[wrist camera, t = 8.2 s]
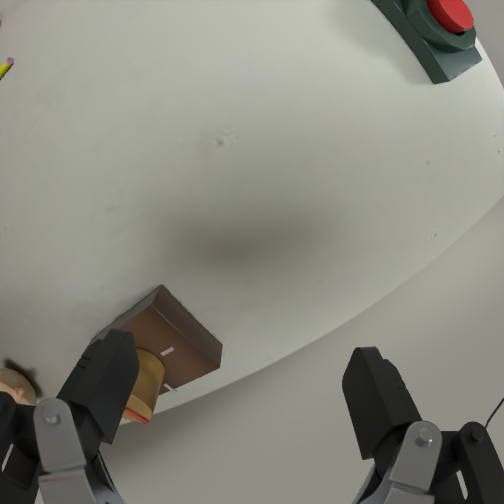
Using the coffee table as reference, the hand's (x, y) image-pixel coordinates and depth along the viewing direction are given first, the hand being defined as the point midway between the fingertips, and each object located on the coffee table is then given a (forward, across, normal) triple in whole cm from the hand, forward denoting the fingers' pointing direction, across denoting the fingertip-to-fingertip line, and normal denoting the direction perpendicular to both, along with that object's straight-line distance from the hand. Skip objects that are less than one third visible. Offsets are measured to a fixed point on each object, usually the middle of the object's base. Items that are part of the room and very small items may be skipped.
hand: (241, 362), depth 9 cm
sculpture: (+12, +35, +26) cm, 46 cm away
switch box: (+12, -13, -21) cm, 28 cm away
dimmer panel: (+12, +9, +11) cm, 19 cm away
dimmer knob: (+9, +9, +11) cm, 17 cm away
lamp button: (+9, -13, -21) cm, 26 cm away
